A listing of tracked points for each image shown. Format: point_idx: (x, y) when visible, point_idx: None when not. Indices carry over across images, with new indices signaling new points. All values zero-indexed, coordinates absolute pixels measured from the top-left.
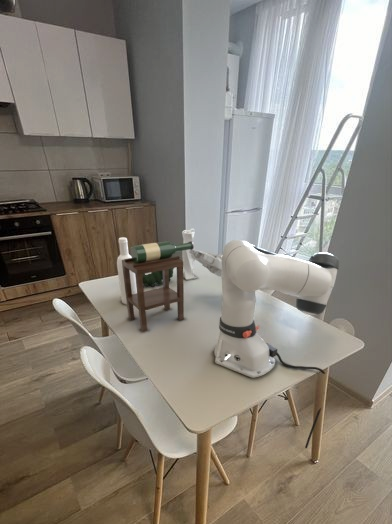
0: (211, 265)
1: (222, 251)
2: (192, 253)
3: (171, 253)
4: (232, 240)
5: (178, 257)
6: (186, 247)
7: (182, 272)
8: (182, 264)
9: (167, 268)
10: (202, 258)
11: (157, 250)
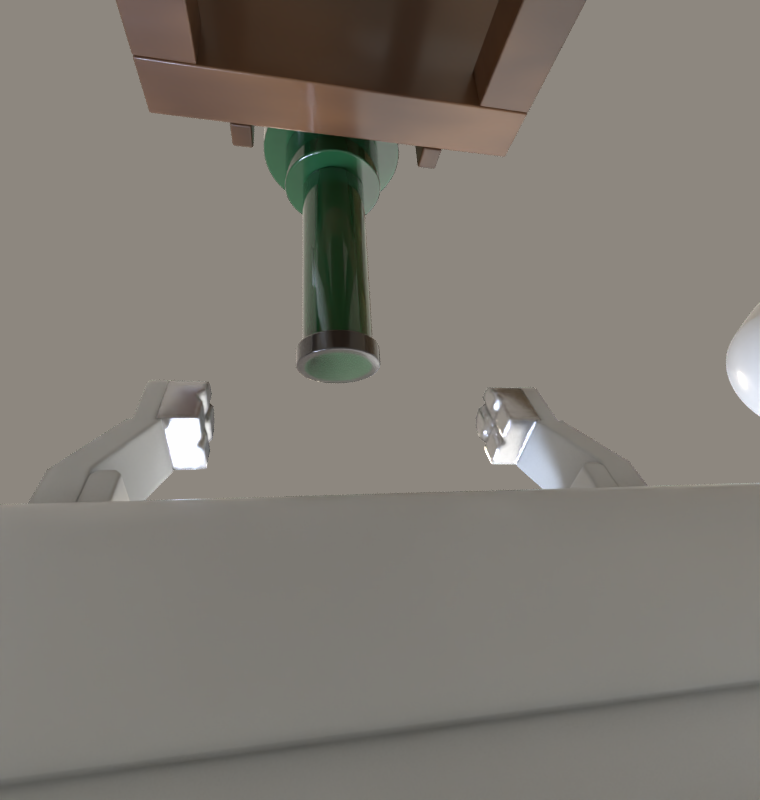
0: (669, 494)
1: (748, 318)
2: (201, 406)
3: (397, 143)
4: (730, 381)
5: (435, 155)
6: (369, 296)
7: (562, 31)
8: (517, 121)
9: (496, 1)
10: (504, 388)
11: None
